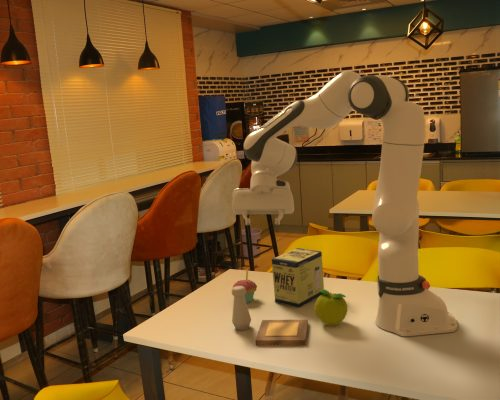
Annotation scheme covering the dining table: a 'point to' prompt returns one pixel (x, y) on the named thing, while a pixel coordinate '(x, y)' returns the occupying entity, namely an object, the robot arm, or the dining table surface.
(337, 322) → the fruit
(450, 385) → the dining table surface
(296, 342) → the base board
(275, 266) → the protein box
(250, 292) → the cupcake
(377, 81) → the robot arm
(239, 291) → the salt shaker
